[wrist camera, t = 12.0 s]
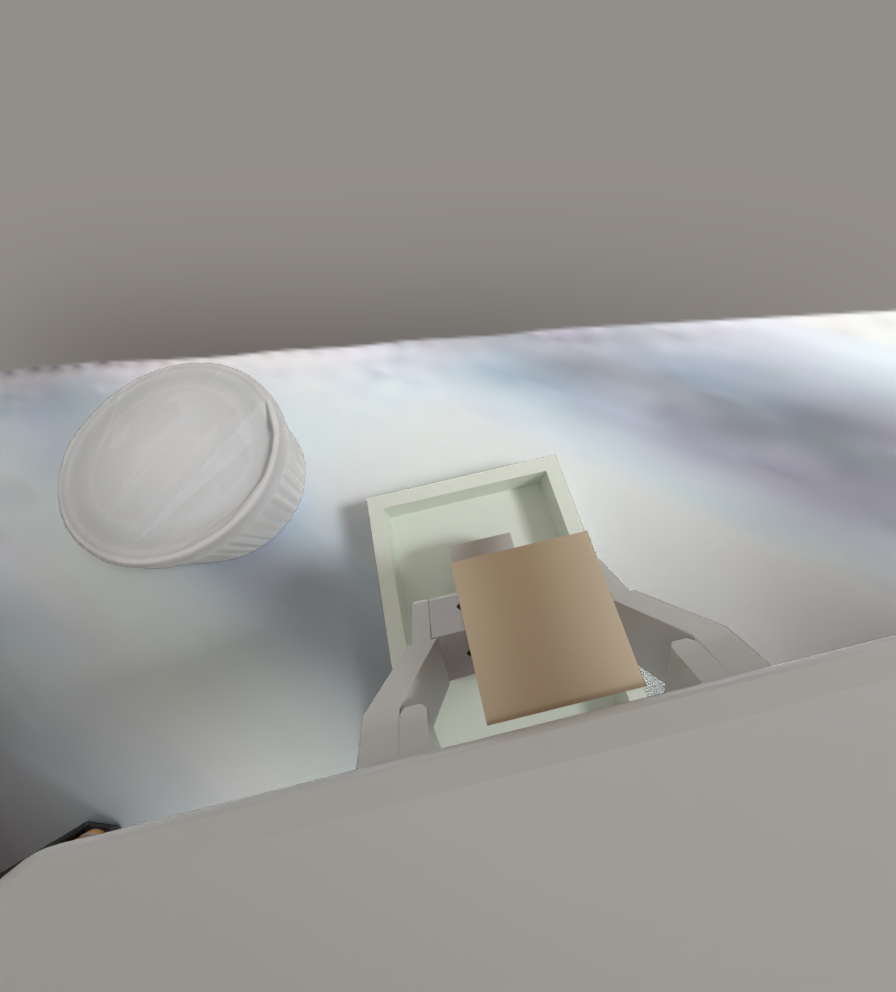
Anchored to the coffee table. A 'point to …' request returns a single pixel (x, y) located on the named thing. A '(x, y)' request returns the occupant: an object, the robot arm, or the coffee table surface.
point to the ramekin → (181, 470)
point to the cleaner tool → (540, 625)
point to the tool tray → (427, 570)
